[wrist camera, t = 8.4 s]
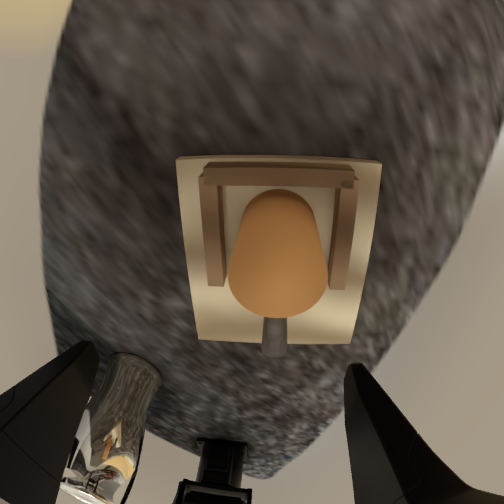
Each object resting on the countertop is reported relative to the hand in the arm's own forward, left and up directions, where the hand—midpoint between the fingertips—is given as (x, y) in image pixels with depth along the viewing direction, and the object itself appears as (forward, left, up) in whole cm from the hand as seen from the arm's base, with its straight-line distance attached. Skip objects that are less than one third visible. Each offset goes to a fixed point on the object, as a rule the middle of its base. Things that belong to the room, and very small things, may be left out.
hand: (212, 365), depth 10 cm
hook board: (-3, -2, -12) cm, 12 cm away
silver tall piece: (-17, +12, -12) cm, 24 cm away
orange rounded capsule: (0, -2, -11) cm, 11 cm away
